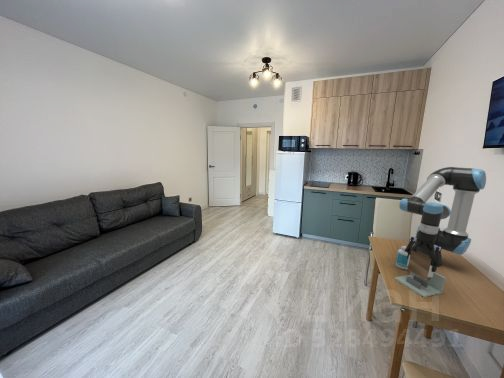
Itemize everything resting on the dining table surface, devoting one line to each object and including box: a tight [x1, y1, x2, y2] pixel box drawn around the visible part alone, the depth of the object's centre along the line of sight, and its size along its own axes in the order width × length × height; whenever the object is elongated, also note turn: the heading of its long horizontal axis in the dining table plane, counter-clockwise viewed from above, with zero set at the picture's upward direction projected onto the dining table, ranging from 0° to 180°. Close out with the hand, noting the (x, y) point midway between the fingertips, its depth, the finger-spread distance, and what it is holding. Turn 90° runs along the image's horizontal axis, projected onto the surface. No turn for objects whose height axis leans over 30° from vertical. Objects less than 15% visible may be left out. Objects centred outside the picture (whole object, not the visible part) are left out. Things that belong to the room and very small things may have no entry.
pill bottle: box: [395, 245, 408, 271], centre depth 134 cm, size 8×7×14 cm
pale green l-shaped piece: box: [393, 272, 446, 298], centre depth 115 cm, size 14×16×9 cm
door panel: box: [407, 250, 432, 281], centre depth 113 cm, size 3×10×12 cm, turn 18°
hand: (419, 270), depth 114 cm, fingers closed on door panel, 10 cm apart
